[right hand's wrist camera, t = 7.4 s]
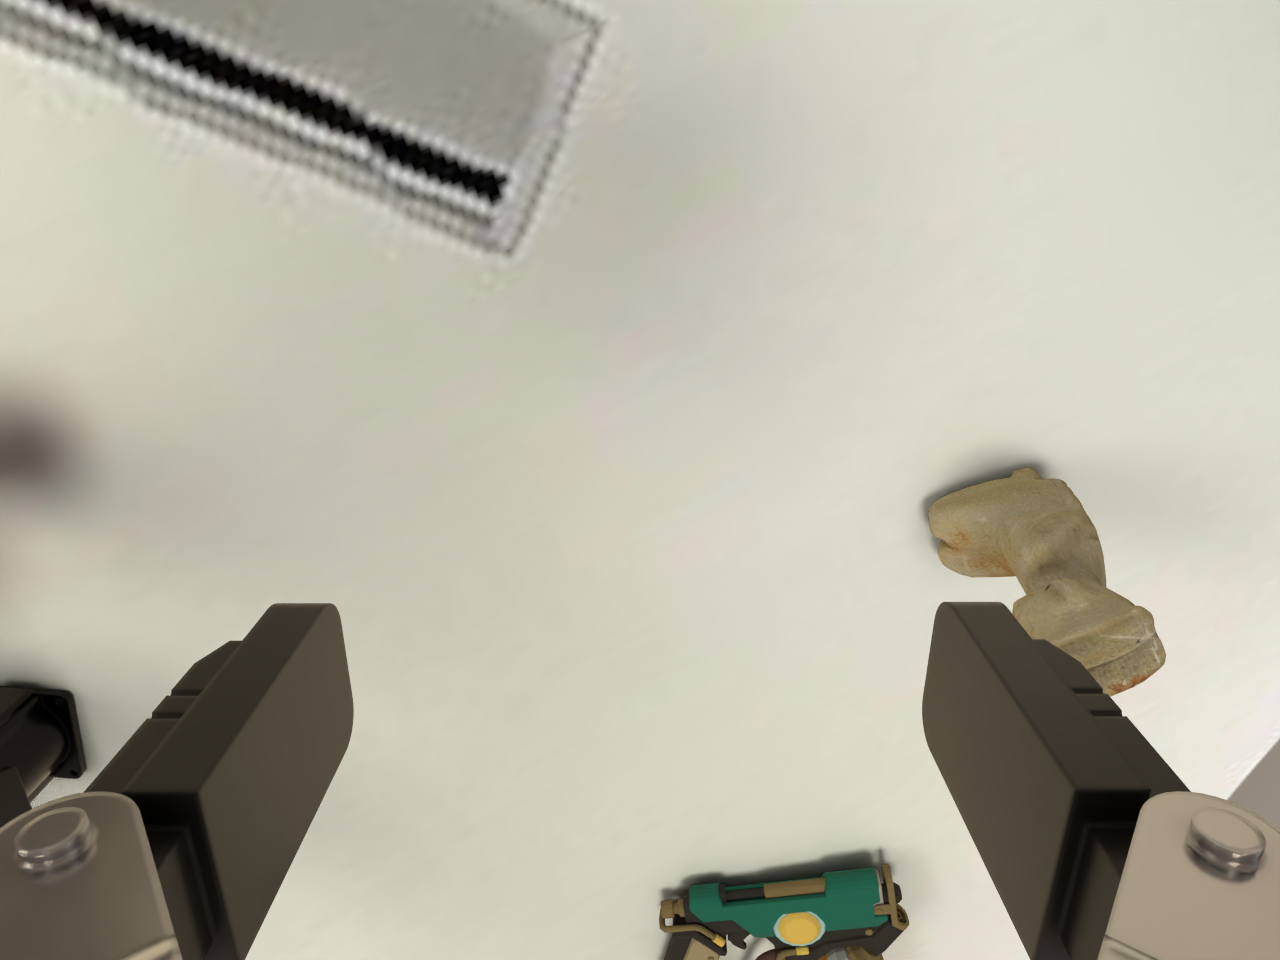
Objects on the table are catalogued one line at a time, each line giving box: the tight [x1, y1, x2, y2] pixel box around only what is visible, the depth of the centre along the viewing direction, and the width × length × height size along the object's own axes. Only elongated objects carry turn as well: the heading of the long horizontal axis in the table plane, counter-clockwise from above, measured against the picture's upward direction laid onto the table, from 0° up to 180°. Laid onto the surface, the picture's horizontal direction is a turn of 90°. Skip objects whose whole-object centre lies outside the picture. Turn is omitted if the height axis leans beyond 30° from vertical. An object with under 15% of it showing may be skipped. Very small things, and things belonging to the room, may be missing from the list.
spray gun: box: [659, 864, 909, 960], centre depth 58 cm, size 4×17×15 cm
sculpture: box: [928, 468, 1166, 696], centre depth 41 cm, size 6×7×15 cm
